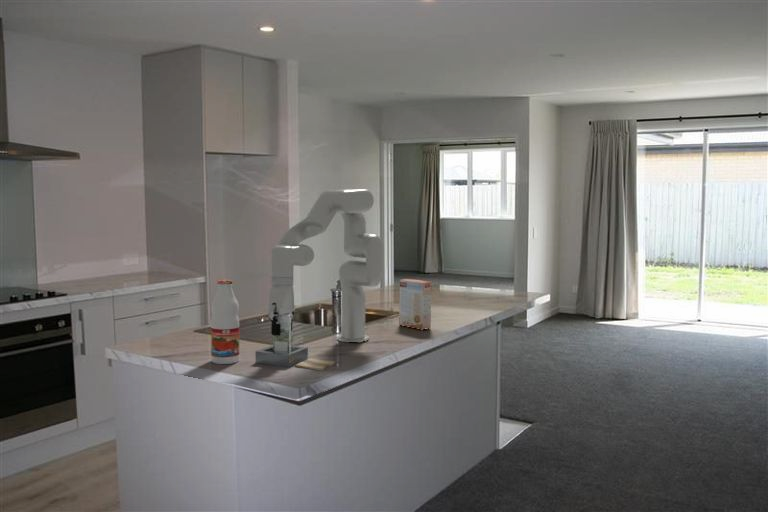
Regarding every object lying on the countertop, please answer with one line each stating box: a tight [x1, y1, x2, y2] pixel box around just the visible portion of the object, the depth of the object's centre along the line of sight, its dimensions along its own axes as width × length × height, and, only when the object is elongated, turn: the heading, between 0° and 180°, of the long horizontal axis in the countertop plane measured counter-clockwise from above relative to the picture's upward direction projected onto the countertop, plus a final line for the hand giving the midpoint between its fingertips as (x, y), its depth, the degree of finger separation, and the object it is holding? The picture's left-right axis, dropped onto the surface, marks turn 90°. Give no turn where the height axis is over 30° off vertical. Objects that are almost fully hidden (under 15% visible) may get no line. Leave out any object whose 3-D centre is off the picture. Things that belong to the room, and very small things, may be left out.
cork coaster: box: [294, 358, 336, 371], centre depth 223 cm, size 10×10×1 cm
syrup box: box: [272, 313, 292, 354], centre depth 227 cm, size 6×6×14 cm
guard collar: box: [255, 344, 309, 368], centre depth 227 cm, size 13×13×4 cm
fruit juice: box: [210, 279, 240, 365], centre depth 224 cm, size 9×9×28 cm
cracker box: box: [398, 278, 432, 329], centre depth 287 cm, size 14×6×21 cm, turn 44°
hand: (282, 332), depth 227 cm, fingers closed on syrup box, 7 cm apart
